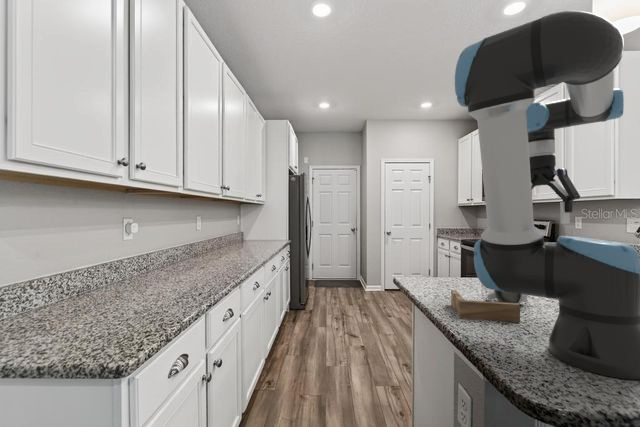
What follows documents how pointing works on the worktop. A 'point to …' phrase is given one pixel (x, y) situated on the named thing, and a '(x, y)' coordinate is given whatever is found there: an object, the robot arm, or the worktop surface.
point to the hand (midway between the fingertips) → (542, 223)
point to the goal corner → (485, 309)
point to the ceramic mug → (507, 297)
